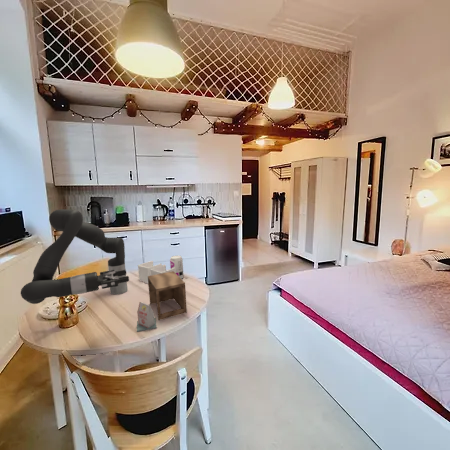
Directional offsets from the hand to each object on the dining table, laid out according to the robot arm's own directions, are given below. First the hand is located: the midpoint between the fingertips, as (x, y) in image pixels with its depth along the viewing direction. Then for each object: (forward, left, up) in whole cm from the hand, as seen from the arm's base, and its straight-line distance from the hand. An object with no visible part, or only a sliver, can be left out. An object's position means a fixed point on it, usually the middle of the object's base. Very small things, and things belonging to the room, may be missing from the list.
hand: (127, 275), depth 110 cm
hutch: (+16, +14, -25) cm, 33 cm away
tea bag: (+6, +1, -25) cm, 26 cm away
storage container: (+14, +52, -26) cm, 60 cm away
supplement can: (+27, +54, -26) cm, 66 cm away
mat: (+6, +1, -25) cm, 26 cm away
